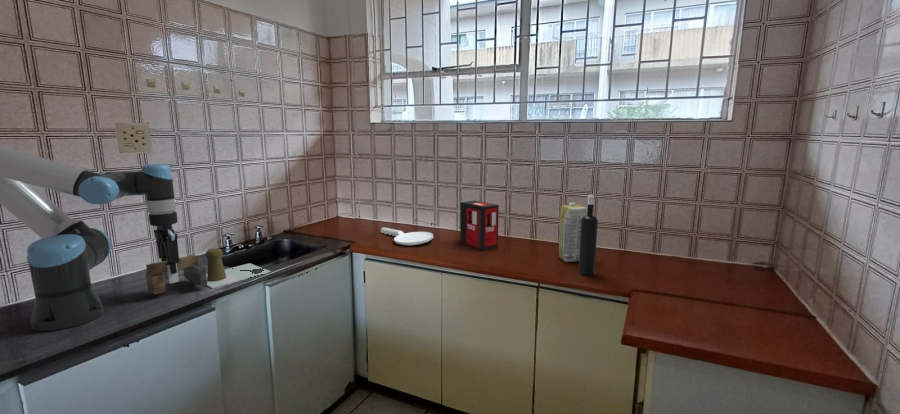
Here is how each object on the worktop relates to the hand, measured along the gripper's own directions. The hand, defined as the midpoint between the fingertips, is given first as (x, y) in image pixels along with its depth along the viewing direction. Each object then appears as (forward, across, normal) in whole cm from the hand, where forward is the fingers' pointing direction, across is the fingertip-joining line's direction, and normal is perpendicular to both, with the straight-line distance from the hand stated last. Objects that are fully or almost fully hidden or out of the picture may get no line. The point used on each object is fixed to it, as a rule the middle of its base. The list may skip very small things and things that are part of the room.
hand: (171, 281), depth 136 cm
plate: (+4, 0, -19) cm, 20 cm away
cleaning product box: (+5, -49, -110) cm, 121 cm away
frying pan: (+5, -13, -97) cm, 98 cm away
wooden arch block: (+2, 0, -1) cm, 2 cm away
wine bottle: (+5, -104, -102) cm, 146 cm away
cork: (+4, 0, -14) cm, 14 cm away
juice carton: (+5, -92, -115) cm, 148 cm away
